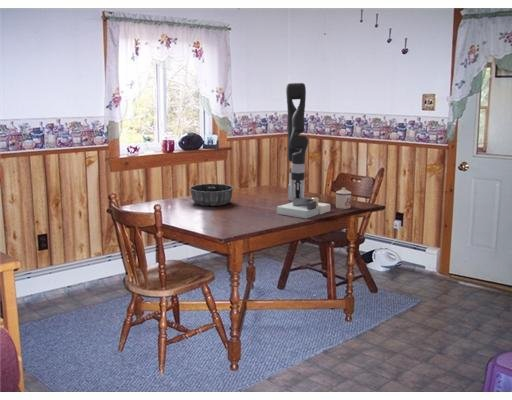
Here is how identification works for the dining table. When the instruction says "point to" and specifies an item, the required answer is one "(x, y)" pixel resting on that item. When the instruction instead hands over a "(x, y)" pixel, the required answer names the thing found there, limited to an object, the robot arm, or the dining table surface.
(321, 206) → the jamb block
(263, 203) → the dining table surface
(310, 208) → the block
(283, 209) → the door leaf
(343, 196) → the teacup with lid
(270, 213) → the dining table surface
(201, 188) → the bundt pan
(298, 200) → the bar
